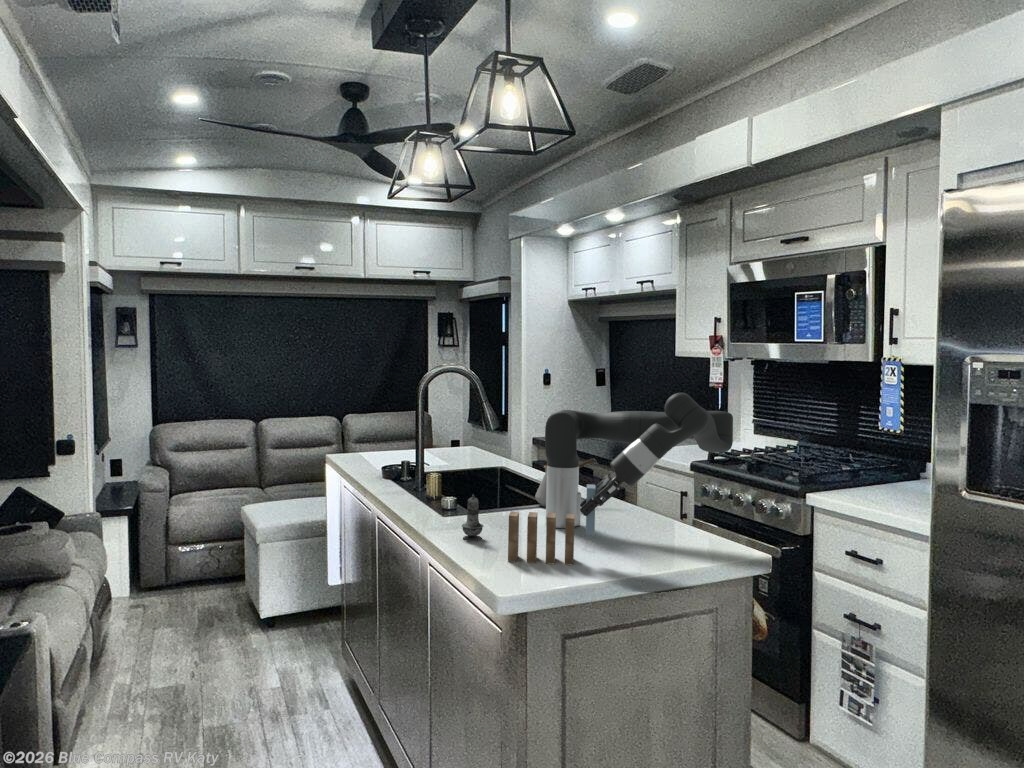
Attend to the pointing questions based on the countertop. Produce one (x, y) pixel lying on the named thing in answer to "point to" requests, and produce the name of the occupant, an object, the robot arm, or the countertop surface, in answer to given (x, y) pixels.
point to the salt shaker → (472, 521)
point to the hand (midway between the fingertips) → (582, 510)
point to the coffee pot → (543, 486)
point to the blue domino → (591, 517)
